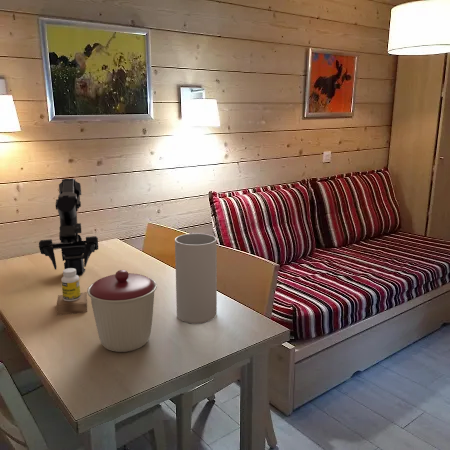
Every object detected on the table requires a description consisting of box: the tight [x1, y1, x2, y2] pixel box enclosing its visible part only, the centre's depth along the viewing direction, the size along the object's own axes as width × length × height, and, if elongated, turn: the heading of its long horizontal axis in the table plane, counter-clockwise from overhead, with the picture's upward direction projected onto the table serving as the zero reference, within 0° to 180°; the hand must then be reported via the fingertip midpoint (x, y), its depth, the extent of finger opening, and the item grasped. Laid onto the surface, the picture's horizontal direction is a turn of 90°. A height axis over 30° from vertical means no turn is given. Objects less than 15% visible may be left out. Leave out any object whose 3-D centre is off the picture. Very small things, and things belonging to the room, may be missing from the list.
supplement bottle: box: [60, 268, 81, 301], centre depth 137 cm, size 5×5×10 cm
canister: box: [86, 269, 158, 353], centre depth 115 cm, size 18×18×21 cm
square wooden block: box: [55, 291, 88, 316], centre depth 138 cm, size 9×9×3 cm
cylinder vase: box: [174, 232, 218, 324], centre depth 131 cm, size 12×12×25 cm
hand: (70, 267), depth 141 cm, fingers open, 9 cm apart
